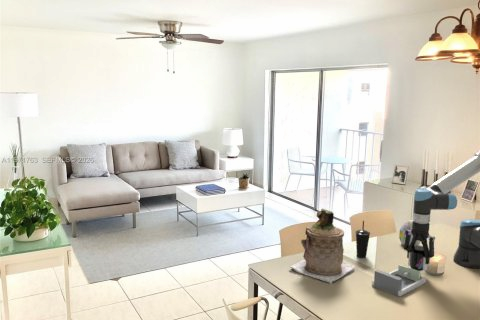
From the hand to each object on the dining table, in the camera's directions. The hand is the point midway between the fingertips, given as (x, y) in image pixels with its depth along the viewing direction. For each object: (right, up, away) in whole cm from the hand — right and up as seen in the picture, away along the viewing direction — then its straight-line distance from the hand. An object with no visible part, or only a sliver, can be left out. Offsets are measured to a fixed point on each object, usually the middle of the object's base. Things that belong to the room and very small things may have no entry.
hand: (417, 267), depth 199 cm
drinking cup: (-20, -1, +24) cm, 31 cm away
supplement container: (0, -1, 0) cm, 1 cm away
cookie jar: (-45, -3, +6) cm, 45 cm away
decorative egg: (+14, +2, +42) cm, 44 cm away
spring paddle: (-8, -4, -6) cm, 10 cm away
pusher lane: (-13, -5, -9) cm, 17 cm away
